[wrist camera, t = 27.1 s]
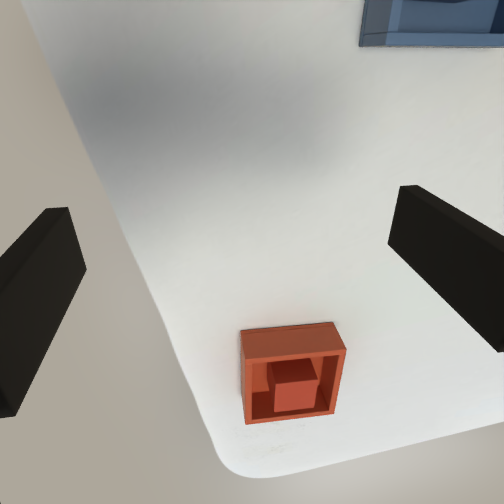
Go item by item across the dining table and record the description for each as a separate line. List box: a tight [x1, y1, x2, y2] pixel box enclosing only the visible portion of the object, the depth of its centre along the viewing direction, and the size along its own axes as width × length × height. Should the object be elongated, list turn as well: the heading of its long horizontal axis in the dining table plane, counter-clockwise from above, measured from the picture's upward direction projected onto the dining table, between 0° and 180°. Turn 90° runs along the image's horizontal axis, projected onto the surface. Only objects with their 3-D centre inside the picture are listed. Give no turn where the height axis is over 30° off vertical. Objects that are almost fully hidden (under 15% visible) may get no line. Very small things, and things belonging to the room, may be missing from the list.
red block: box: [267, 358, 318, 412], centre depth 42 cm, size 5×5×5 cm
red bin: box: [241, 322, 347, 425], centre depth 43 cm, size 12×12×5 cm
